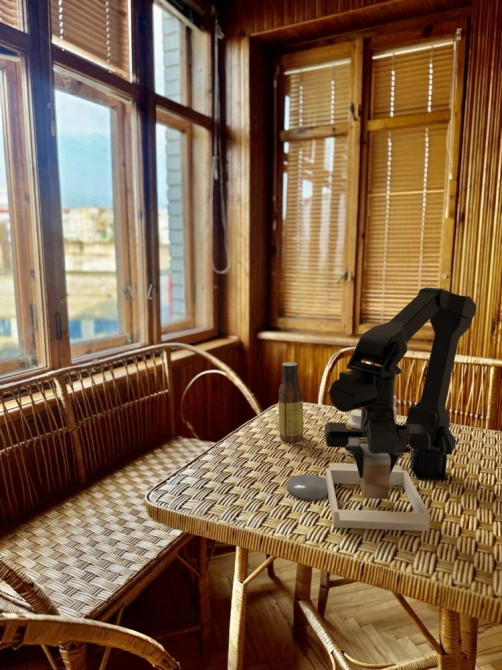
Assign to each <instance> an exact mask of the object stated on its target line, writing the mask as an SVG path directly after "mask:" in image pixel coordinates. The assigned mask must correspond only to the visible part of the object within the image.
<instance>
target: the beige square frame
mask: <svg viewBox="0 0 502 670" xmlns="http://www.w3.org/2000/svg"><path fill="white" fill-rule="evenodd" d="M328 466H329V467H328V468H325V479H326V482H327V487H328V496H327V497H328V501H329V502H328V503H329V508H330V515H331V521H332V526H333V528H341V529H342V528H343V529H344V528H347V529H369V530H370V529H371V530H392V531H395V530H396V531H418V532H419V531H420V532H423V531H424V532H429V531H430V523H431V522H430V520H431V514H430V513H429V510H428V509H427V506H426V505H425V504H424V501H423V499H422V498H421V496H420V493H419V492H418V490H417V488H416V486H415V484H414V482H413V481H412V479H411V477H410V475H409V473H408V471H407V470H403V469H402V466H401V465H398V464H395V466H394V468H393V470H392V472H391V474H390V482H389V486H396V485H399V486H400V487H401V486H402V487H403V490H404V491H405V493H406V496H407V498H408V500H409V502H410V504H411V506H412V509H413V510H414V512H411V511H410V512H409V511H391V510H390V511H386V510H365V509H364V510H363V509H362V510H360V509H359V510H357V509H339V508H338V503H337V497H336V491H335V487H334V484H340V483H341V484H342V485H346V484H347V485H360V484H359V472H358V469H357V465H356V463H342V462H341V463H335V462H332V463H331V462H329V463H328ZM341 484H340V485H341Z"/></svg>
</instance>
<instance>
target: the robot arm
mask: <svg viewBox="0 0 502 670" xmlns="http://www.w3.org/2000/svg"><path fill="white" fill-rule="evenodd" d="M476 313H477V305H476V303H475V301H473V299H472V297H471V296H470V295H462V294H461V295H460V294H457V293H453V292H451V291H449V290H446V289H444V288H440V287H428V286H427V287H422V288H420V290H419V291H418V293H417V295H416V296H415V297H414V298H413V299H412V300H411V301H409V303H407V305H405V306H404V307H403V308H402V309H401V310H400V311H398V313H397V314H396V315H395V316H394V317H392V319H390V320H388V321H387V322H385V323H383V324H379V325H375V326H373V327H371V328H370V329H368V330H367V331H365V332H363V333H362V335H361V336H360V337H359V339H358V342H357V344H356V347H355V348H354V350H353V353H352V354H351V356H350V358H349V360H348V362H347V365H346V369H348V371H345V370H344V371H340V372H339V377H338V378H339V379H336V380H334V381H333V382H332V384H331V386H330V388H329V399H330V401H331V404H332V406H333V407H335V409H336V410H337V411H340V412H341V413H348V412H349V413H350V412H352V411H356V410H357V409H360V411H361V429H347V422H333V421H332V422H329V421H328V422H327V423H326V424H325V425H324V439H325V444H326V447H329V448H344V449H345V452H346V451H351V452H352V454H353V456H354V457H353V456H352V457H353V458H354V461H355V464H356V465H357V469H358V472H359V476H360V478H362V475H363V468H362V455H361V454H362V449H361V446H360V443H359V442H360V440H367V442H368V447H369V451H370V452H371V453H373V454H379V453H388V454H389V456H390V458H391V465H390V474H391V472H392V470H393V468H394V466H395V465H397V464H396V463H397V462H398V460H399V459H400V457H401V456H402V455H404V454H408V453H410V461H409V462H410V463H409V468H410V469H411V471H412V473H414V475H415V477H416V478H417V480H435V481H436V480H437V481H448V480H449V477H448V475H447V474H446V472H447V460H448V455H453V451H454V450H455V448H456V443H457V439H456V438H455V436H454V435H453V433H452V432H451V430H450V422H451V418H450V415H449V413H448V410H447V407H446V402H447V401H446V400H447V396H448V392H449V388H450V387H449V386H450V382H451V378H452V373H453V370H454V363H455V360H456V355H457V351H458V350H457V349H458V344H459V340H460V338H461V337H462V336H463V335H464V334H465V333H466V332H467V331H468V330H469V329H470V328H471V324H472V323H473V319H474V317H475V315H476ZM428 322H430V325H431V328H432V330H433V333H434V335H433V341H432V346H431V349H430V354H429V359H428V363H427V368H426V373H425V378H424V383H423V387H422V390H421V391H422V392H421V396H420V400H419V401H418V402H416V404H415V405H414V406H412V405H411V406H409V408H408V409H407V417H406V420H405V422H404V424H399V423H397V422H396V423H395V420H394V410H393V404H394V395H395V383H396V382H395V381H396V376H397V375H400V374H402V369H401V368H400V367H399V366H398V364H399V363H400V362H401V360H402V359H403V357H404V356H405V355H406V353H407V352H408V342H409V341H410V339H412V337H414V336H415V334H416V333H418V332H419V331H420V330H421V328H423V326H425V324H426V323H428ZM370 363H371V364H370ZM410 448H412V449H410Z"/></svg>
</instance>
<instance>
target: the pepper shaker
mask: <svg viewBox="0 0 502 670" xmlns="http://www.w3.org/2000/svg"><path fill="white" fill-rule="evenodd" d="M396 404H397V396H396V395H395V394H394V404H393V410H394V420H395V423H396V424H397V420H398V419H397V417H398V407H397V406H396Z"/></svg>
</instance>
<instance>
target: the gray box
mask: <svg viewBox="0 0 502 670" xmlns="http://www.w3.org/2000/svg"><path fill="white" fill-rule="evenodd" d="M360 446H361V449H362V454H361V455H362V468H363V475H362V478H360V476H359V484H358V485H359V487H360V490H361V493H362V496H363V499H368V500H369V499H371V500H373V499H375V500H377V499H378V500H389V498H390V497H389V496H390V495H389V494H390V485H389V482H390V465H391V458H390V456H389V454H388V453H379V454H373V453H371V452H370V451H369V447H368V444H360Z"/></svg>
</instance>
